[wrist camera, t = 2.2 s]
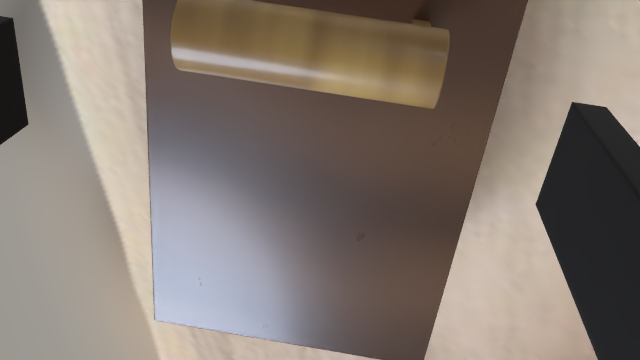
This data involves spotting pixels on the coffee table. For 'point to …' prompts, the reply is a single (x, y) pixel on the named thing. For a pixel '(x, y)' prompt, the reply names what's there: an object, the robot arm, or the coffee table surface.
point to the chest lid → (317, 162)
